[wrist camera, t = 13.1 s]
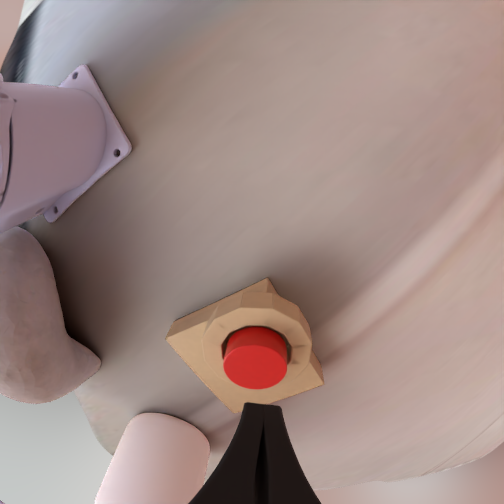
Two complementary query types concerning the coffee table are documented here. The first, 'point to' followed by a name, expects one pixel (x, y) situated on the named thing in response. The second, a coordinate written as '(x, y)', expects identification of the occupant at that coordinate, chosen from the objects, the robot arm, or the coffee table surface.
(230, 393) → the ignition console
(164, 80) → the coffee table surface
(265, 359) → the button
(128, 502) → the wine bottle
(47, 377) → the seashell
